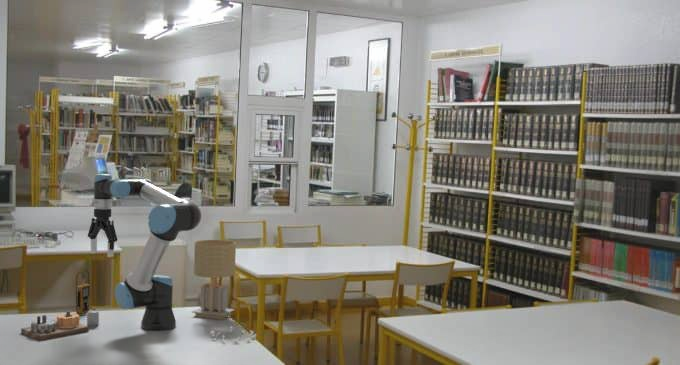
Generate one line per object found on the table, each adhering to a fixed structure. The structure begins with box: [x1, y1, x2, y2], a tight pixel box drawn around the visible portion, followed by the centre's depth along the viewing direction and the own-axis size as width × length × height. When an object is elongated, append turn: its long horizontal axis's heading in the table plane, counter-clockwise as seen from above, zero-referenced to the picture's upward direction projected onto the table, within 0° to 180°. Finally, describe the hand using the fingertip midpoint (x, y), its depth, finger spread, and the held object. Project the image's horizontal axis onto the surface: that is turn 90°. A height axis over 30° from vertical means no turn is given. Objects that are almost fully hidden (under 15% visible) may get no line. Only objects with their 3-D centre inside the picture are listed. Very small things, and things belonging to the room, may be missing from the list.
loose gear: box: [56, 313, 80, 328], centre depth 326 cm, size 9×9×4 cm
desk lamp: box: [191, 239, 237, 320], centre depth 361 cm, size 20×20×35 cm
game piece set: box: [209, 325, 258, 344], centre depth 322 cm, size 19×20×4 cm
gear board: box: [20, 310, 90, 341], centre depth 322 cm, size 16×22×8 cm
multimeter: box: [75, 269, 96, 317], centre depth 358 cm, size 15×10×20 cm
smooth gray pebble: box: [86, 310, 100, 327], centre depth 336 cm, size 5×5×6 cm
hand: (102, 255), depth 341 cm, fingers open, 13 cm apart
